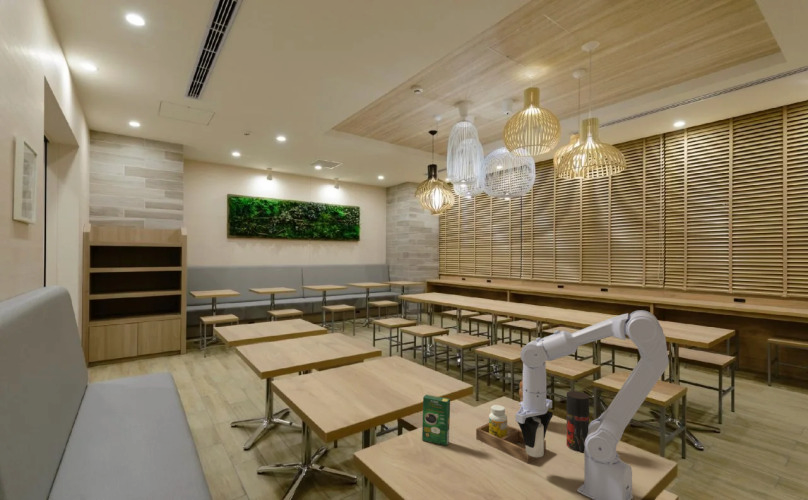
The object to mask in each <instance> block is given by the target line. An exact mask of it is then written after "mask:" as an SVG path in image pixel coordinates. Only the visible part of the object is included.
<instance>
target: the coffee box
mask: <svg viewBox="0 0 808 500" xmlns="http://www.w3.org/2000/svg"><path fill="white" fill-rule="evenodd" d="M450 416H451V398H447V397H441V396H437V395H436V396H435V395H431V394H425V395H424V396H423V398H422V430H421V431H422V432H421V433H422V434H421V440H422V441H425V442H428V443H429V442H430V443H434V444H438V445H441V446H448V444H449V443H450V442H449V441H450V418H451V417H450Z"/></svg>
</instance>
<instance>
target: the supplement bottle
mask: <svg viewBox="0 0 808 500" xmlns="http://www.w3.org/2000/svg"><path fill="white" fill-rule="evenodd" d="M488 423H489V433H490V434H492V435H494V436H497V437H499V438H503V437H504V436H506V435H507V425H508V416H507V415H506V407H504V406H502V405H499V404H494V405H491V407H490V413H489V415H488Z"/></svg>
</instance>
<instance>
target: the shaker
mask: <svg viewBox="0 0 808 500" xmlns="http://www.w3.org/2000/svg"><path fill="white" fill-rule="evenodd" d="M532 419H534V421H536V422H539V423H540V424H539V426H538V428H537V431H536V436H535V445H534V447H533V448H531V447H529V446H526V445H525V444H524V446H525V448H524V449H525V451H526V453H527V454H528V455H530V456H532V457H536V458H541V457H543V456H544V454H545V452H544V440H545V438H544V426H543V424H541V419H540V418H538V417H532Z"/></svg>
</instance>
